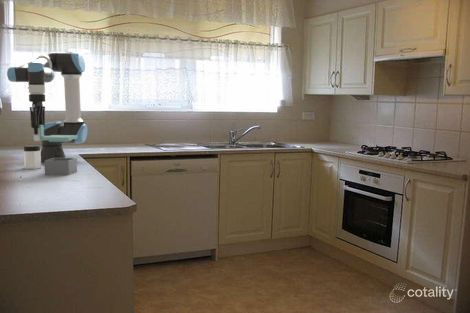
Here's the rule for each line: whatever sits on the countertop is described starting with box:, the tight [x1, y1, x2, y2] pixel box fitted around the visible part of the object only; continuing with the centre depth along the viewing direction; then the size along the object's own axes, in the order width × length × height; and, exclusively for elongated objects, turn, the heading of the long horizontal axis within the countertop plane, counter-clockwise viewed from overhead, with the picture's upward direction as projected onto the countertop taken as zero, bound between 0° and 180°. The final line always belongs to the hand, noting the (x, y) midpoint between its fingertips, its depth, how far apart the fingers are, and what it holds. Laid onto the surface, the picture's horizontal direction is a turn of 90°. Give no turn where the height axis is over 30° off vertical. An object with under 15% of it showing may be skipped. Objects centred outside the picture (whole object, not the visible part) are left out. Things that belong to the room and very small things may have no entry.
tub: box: [43, 157, 78, 176], centre depth 252 cm, size 12×12×7 cm
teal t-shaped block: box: [31, 125, 78, 142], centre depth 251 cm, size 13×20×8 cm, turn 89°
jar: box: [22, 144, 42, 170], centre depth 269 cm, size 9×8×12 cm
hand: (38, 140), depth 251 cm, fingers closed on teal t-shaped block, 3 cm apart
